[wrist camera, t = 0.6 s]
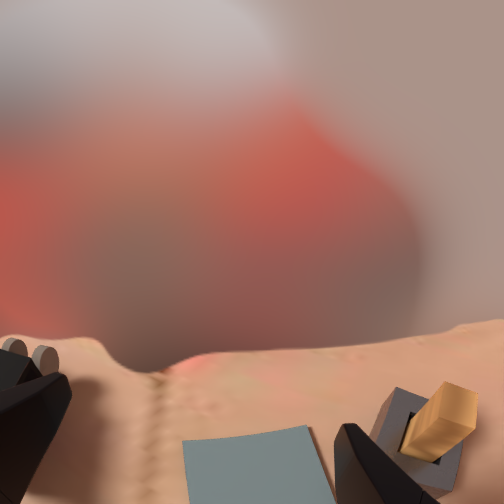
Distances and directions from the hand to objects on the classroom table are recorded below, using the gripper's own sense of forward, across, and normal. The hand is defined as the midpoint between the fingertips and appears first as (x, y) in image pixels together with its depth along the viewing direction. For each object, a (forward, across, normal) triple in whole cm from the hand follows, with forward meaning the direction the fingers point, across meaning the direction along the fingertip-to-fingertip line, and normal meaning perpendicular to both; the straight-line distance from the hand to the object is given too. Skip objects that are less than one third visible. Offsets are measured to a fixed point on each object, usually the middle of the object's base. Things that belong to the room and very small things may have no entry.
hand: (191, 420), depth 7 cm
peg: (+9, -17, +15) cm, 24 cm away
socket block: (+9, -17, +15) cm, 24 cm away
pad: (+6, -4, +15) cm, 17 cm away
